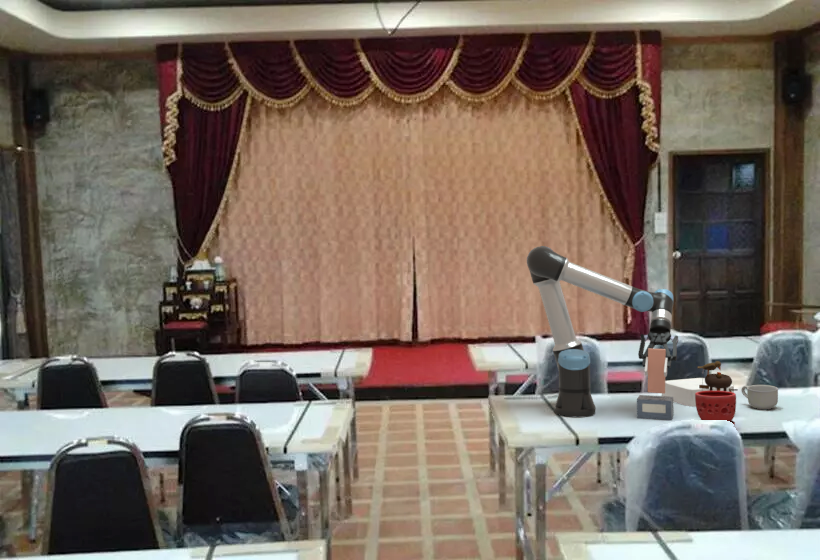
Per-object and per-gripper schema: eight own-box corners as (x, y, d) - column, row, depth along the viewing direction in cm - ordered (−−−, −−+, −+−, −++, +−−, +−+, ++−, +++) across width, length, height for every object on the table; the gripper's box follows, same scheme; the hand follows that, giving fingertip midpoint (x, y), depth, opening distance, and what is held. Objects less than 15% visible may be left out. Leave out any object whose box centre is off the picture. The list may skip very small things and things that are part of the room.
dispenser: (636, 418, 284) (636, 398, 284) (639, 413, 292) (639, 394, 291) (671, 420, 279) (671, 400, 279) (673, 415, 287) (673, 395, 287)
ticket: (647, 392, 286) (648, 348, 285) (648, 391, 287) (648, 348, 286) (664, 393, 283) (665, 349, 282) (665, 392, 285) (665, 349, 284)
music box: (703, 418, 282) (703, 363, 281) (691, 411, 293) (691, 358, 292) (745, 416, 282) (744, 361, 281) (731, 410, 293) (731, 357, 292)
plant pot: (740, 425, 269) (740, 391, 269) (730, 433, 259) (730, 397, 258) (701, 421, 277) (701, 387, 277) (690, 428, 267) (690, 394, 266)
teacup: (784, 409, 293) (784, 388, 292) (762, 412, 289) (762, 390, 288) (755, 402, 306) (755, 382, 305) (734, 405, 302) (734, 384, 301)
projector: (739, 403, 307) (739, 385, 306) (690, 407, 301) (690, 390, 300) (706, 393, 327) (705, 377, 327) (659, 397, 321) (659, 381, 321)
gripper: (687, 331, 294) (683, 381, 280) (635, 329, 302) (629, 378, 288) (686, 318, 289) (682, 369, 275) (633, 317, 297) (627, 366, 283)
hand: (655, 373), depth 282 cm, fingers closed on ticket, 6 cm apart
